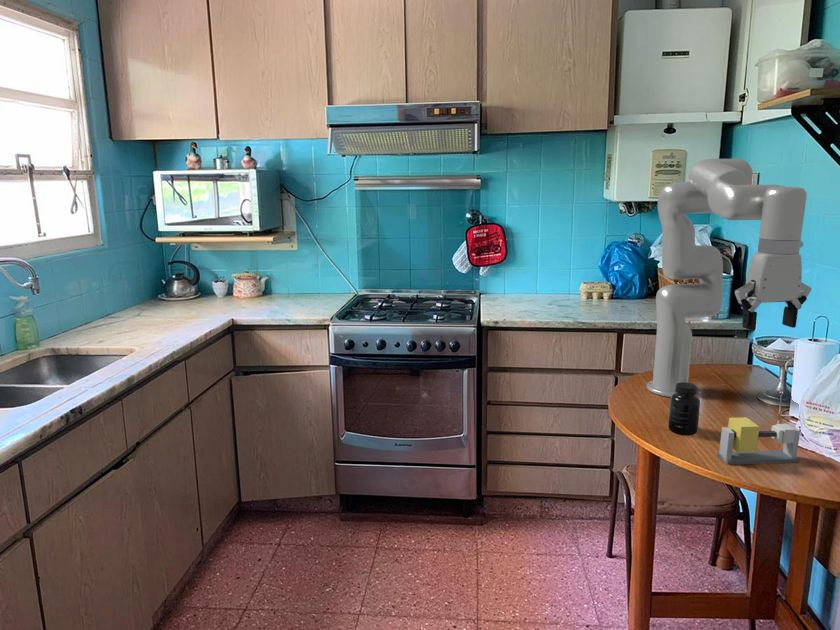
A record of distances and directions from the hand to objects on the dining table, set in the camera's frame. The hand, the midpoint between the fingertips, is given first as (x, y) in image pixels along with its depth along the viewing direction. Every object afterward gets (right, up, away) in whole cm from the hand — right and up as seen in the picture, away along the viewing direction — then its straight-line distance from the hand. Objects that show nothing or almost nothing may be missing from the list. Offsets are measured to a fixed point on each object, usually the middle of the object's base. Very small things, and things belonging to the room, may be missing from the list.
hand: (768, 327), depth 131 cm
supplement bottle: (-9, -26, +22) cm, 36 cm away
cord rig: (+1, -30, +7) cm, 31 cm away
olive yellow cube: (-3, -27, +6) cm, 28 cm away
